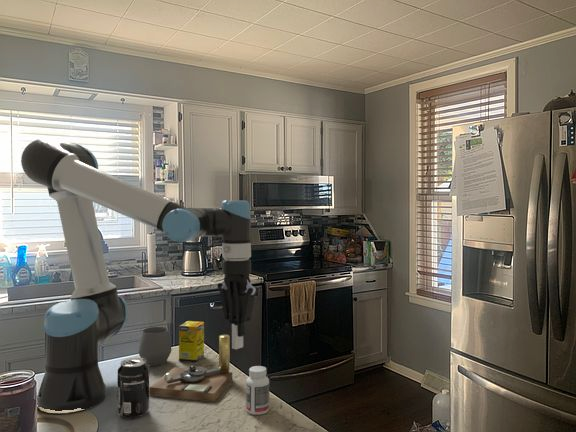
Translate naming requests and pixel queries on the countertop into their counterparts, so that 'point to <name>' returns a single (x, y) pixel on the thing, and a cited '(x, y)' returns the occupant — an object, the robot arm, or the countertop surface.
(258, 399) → the pill bottle
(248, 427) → the countertop surface
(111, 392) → the countertop surface
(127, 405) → the beverage can
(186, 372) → the crank handle
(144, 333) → the cup
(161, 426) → the countertop surface
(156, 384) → the stand
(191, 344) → the supplement box
